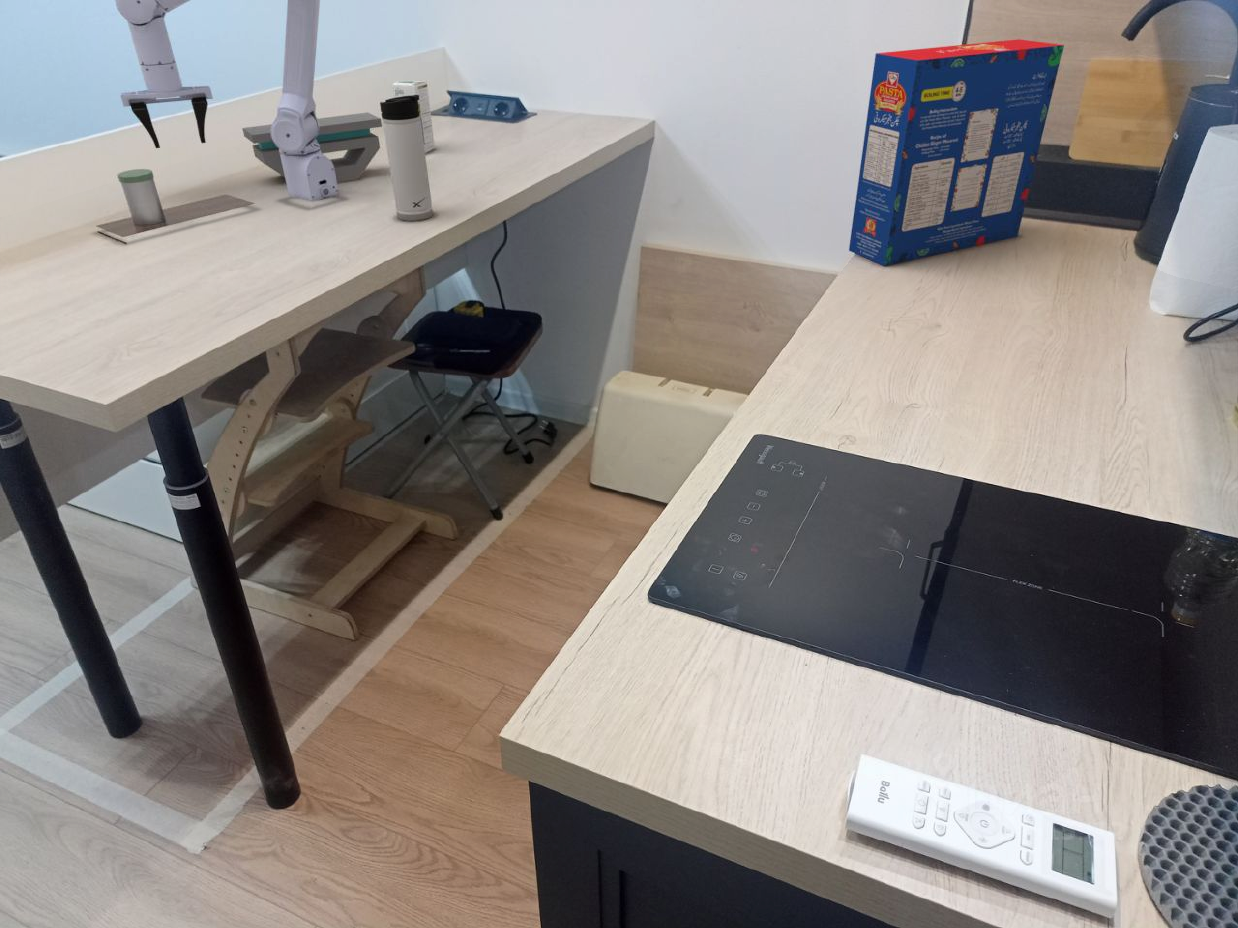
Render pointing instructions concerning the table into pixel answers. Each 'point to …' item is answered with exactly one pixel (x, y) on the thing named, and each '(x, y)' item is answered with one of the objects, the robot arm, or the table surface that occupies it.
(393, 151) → the travel mug
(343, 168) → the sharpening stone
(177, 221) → the board
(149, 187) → the tin
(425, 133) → the syrup box
